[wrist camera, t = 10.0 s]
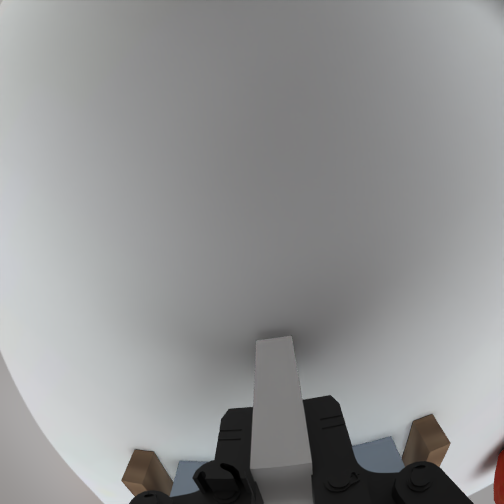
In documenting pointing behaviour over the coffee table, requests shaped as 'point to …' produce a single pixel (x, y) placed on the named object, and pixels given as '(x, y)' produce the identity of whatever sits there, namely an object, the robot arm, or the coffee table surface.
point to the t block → (367, 455)
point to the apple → (499, 480)
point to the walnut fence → (417, 449)
